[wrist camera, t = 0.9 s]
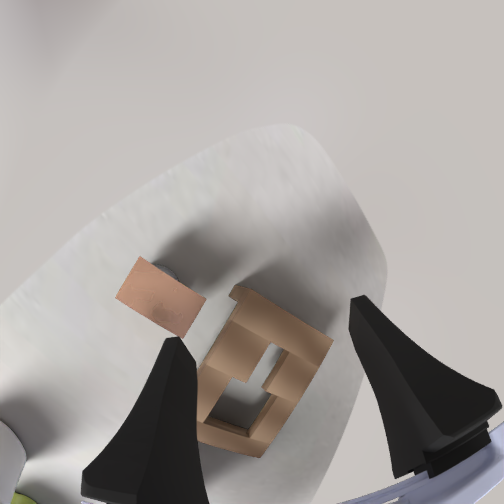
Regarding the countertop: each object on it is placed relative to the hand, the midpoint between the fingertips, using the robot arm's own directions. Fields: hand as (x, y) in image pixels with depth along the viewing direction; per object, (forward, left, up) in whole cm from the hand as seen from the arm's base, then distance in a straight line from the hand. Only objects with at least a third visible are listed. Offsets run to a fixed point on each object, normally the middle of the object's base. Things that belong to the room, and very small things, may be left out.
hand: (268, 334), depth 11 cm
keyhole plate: (-4, -7, -14) cm, 17 cm away
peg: (-1, +4, -14) cm, 15 cm away
